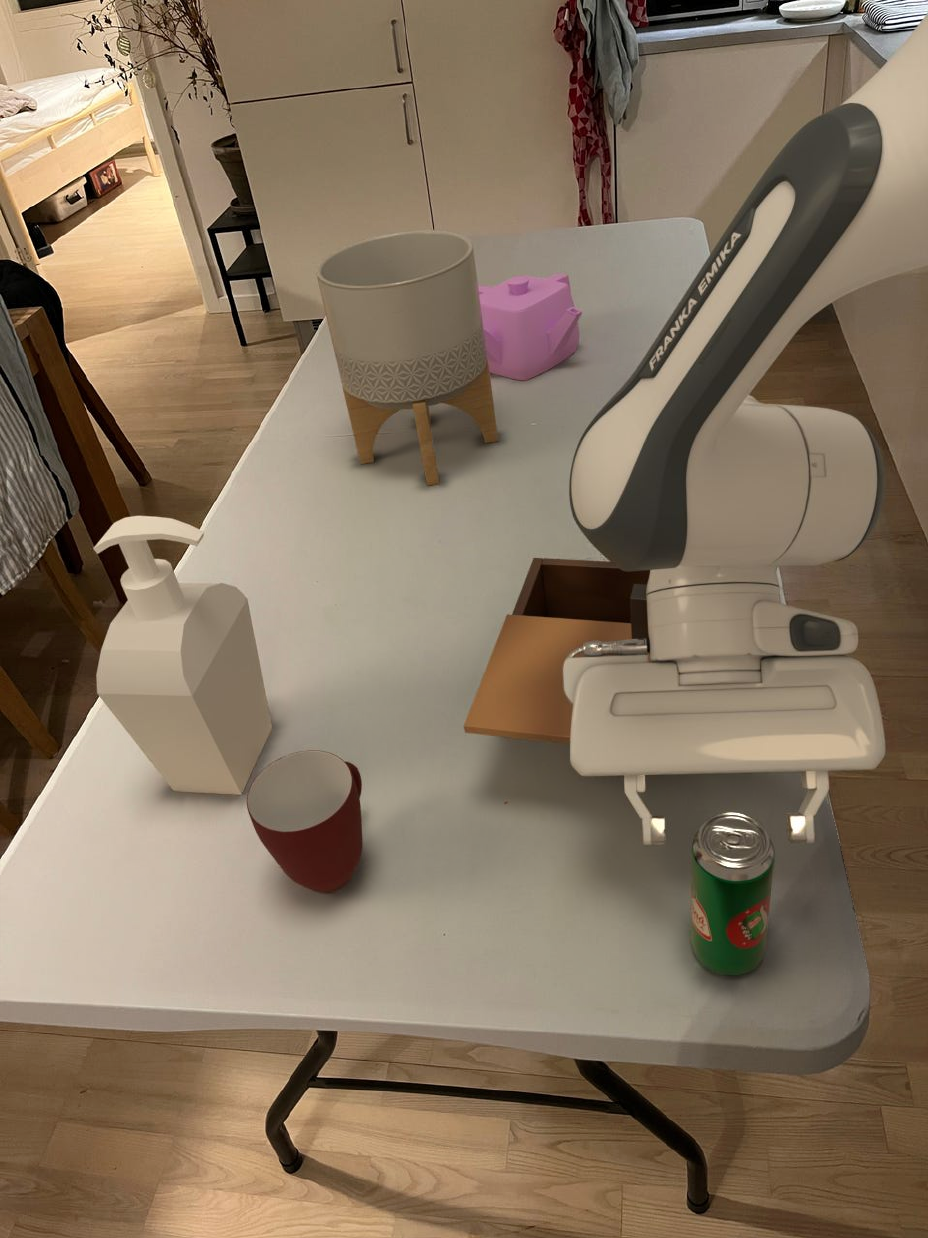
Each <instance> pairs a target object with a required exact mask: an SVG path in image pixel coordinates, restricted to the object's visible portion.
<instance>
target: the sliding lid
mask: <svg viewBox="0 0 928 1238" xmlns="http://www.w3.org/2000/svg"><path fill="white" fill-rule="evenodd" d="M646 589H647V585H642V584H634V585H633V589H632V593H631V597H630V609H631V623H619V622H605V621H591V620H577V619H563V618H549V617H535V616H521V615H512V614H506V616H505V618H504V620H503V624H502V626H501V629H500V632H499V634H498V637H497V638H496V642H495V644H494V647H493V649H492V651H491V655H490V657H489V660H488V662H487V664H486V668H485V670H484V673H483V675H482V678H481V679H480V680H481V681H480V683H479V685H478V687H477V691H476V693H475V696H474V698H473V701H472V703H471V706H470V708H469V712H468V714H467V716H466V719H465V721H464V724H463V730H464V733H465V734H466V733H467V734H476V735H484V736H491V737H492V736H493V737H501V738H508V739H509V738H510V739H520V740H527V741H528V740H529V741H538V742H544V743H545V742H547V743H556V744H564V745H570V734H571V720H572V711H573V705H572V704H571V703H570V702H569V701H568V700H567V698H566V697H565V695H564V692H563V679H562V666H563V663H564V661H565V659H566V657H567V656H568V654H569V653H570V652H572V651H573V650H575V649H577V648H580V647H583V643H584V642H588V641H602V642H606V641H608V642H609V641H612V642H613V641H617V640H624V639H638V638H648V637H649V635H648V617H647V597H646ZM647 655H648V663H652V662H650V653H648V652H647ZM603 656H619V655H603ZM603 656H602V657H603ZM621 656H622V655H621ZM579 657H587V656H584V655H583V653H580V654H578V655H576V656H575V657H574V658H579Z"/></svg>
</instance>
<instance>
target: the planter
mask: <svg viewBox="0 0 928 1238" xmlns="http://www.w3.org/2000/svg"><path fill="white" fill-rule="evenodd" d="M473 245H474V244H473V242H472V240H471V239H470V238H468V237H467V236H466V235H464V234H461V233H459V232H455V231H450V230H444V229H443V230H442V229H441V230H438V229H416V230H404V231H397V232H390V233H386V234H385V233H384V234H380V235H376V236H371V237H367V238H365V239H362V240H358V241H356V242H352V243H350V244H347V245H345V246H343V247H340V248H339V249H336V250H334V251H332V252H331V253H330V254H327V256H325V257H324V258H322V259H321V260H320V262H319V263H318V264H317V266H316V268H315V274H316V279H317V283H318V287H319V291H320V296H321V300H322V304H323V305H322V306H323V309H324V313H325V317H326V322H327V326H328V330H329V335H330V339H331V343H332V346H333V347H332V348H333V353H334V356H335V360H336V366H337V369H338V373H339V378H340V381H341V387H342V391H343V395H344V400H345V405H346V408H347V409H346V410H347V413H348V417H349V422H350V427H351V430H352V434H353V438H354V444H355V447H356V451H357V457H358V461H359V463H360V465H364V464H370V463H374V462H375V456H374V447H375V441H376V438H377V435H378V433H379V431H380V430H381V428H382V427H383V425H384V424H385V423H386V422H387V421H388V420H389V419H390V418H391V417H392V416H393V415H395V414H397V413H398V412H400V411H401V410H402V411H407V410H413V416H414V421H415V427H416V432H417V438H418V442H419V443H418V444H419V448H420V454H421V459H422V464H423V468H424V469H423V470H424V475H425V480H426V485H427V486H428V487H429V486H430V487H431V486H434V485H440V477H439V471H438V466H437V459H436V454H435V447H434V442H433V436H432V429H431V424H432V421H431V413H430V407H431V406H435V405H439V404H444V405H448V406H451V407H455V408H457V409H459V410H460V411H463V412H464V413H465V414H467V415H468V416H469V417H470V418H471V419H472V420H473V421H474V422H475V423H476V425H477V426H478V428H479V430H480V432H481V434H482V437H483V442H484V444H489V443H495V442H499V435H498V426H497V420H496V412H495V404H494V395H493V387H492V381H491V373H490V372H489V364H488V360H487V351H486V343H485V335H484V327H483V320H482V312H481V304H480V297H479V289H478V286H479V281H478V275H477V267H476V260H475V258H476V257H475V251H474V246H473Z"/></svg>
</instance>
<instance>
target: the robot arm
mask: <svg viewBox="0 0 928 1238" xmlns="http://www.w3.org/2000/svg"><path fill="white" fill-rule="evenodd" d="M924 267H928V12H927V13H926V14H925V15H924V17H923V18H922V20H921V21H920V22H919V23H918V25H917V26H916V27H915V29H913V31H912V32H911V34H910V35H909V36H908V37H907V39H906V40H905V41H904V42H903V43H902V44H901V45H900V47H899V48H898V49H897V50H896V51H895V53H894V54H893V55H892V56H891V57H890V58H889V59H888V60H887V61H886V63H885V64H884V65H883V66H882V67H881V68H880V69H878V71H877V72H876V73H874V74H873V76H871V78H870V79H868V80H867V82H866V83H865V84H864V85H862V86H861V88H859V89H858V90H856V92H855V93H853V94H852V95H851V96H850V97H848V98H847V99H846V100H845V101H843V102H842V103H841V104H840V105H838V106H837V107H834V108H832V109H830V110H828V111H826V112H824V113H822V114H820V115H818V116H816V117H814V118H813V119H811V120H810V121H808V122H807V123H806V124H805V125H803V126H802V127H801V128H800V129H799V130H798V131H797V132H796V133H795V134H794V135H793V136H792V137H791V138H790V139H789V140H788V142H787V143H786V144H785V145H784V146H783V147H782V149H781V150H780V151H779V153H778V154H777V155H776V156H775V158H774V159H773V160H772V162H771V163H770V164H769V166H768V167H767V169H766V170H765V171H764V172H763V174H762V175H761V177H760V179H759V180H758V181H757V182H756V183H755V185H754V187H753V189H752V190H751V192H750V193H749V194H748V196H747V197H746V199H745V200H744V202H743V204H742V205H741V206H740V208H739V210H738V211H737V212H736V214H735V216H734V217H733V219H732V220H731V222H730V223H729V225H728V226H727V228H726V229H725V231H724V233H723V234H722V235H721V237H720V238H719V240H718V241H717V243H716V245H715V246H714V248H713V249H712V251H711V253H710V254H709V256H708V257H707V259H706V261H705V262H704V263H703V264H702V267H701V268H700V269H699V271H698V273H697V274H696V276H695V277H694V279H693V280H692V282H691V284H690V285H689V287H688V288H687V289H686V292H685V293H684V295H683V296H682V297H681V299H680V301H679V302H678V304H677V305H676V307H675V309H674V310H673V312H672V313H671V315H670V316H669V318H668V319H667V321H666V323H665V324H664V325H663V327H662V329H661V331H659V333H658V335H657V336H656V338H655V339H654V341H653V343H652V344H651V346H650V347H649V349H648V350H647V352H646V353H645V355H644V356H643V358H642V359H641V360H640V362H639V363H638V366H637V367H636V369H635V370H634V372H633V373H632V374H631V375H630V377H629V378H628V379H627V380H626V381H625V383H624V384H623V385H622V386H621V387H620V388H619V390H618V391H616V393H615V394H614V395H613V396H612V397H611V398H610V399H609V400H608V401H607V402H606V403H605V404H604V405H603V406H602V408H601V409H600V410H599V412H597V413H596V415H595V416H594V417H593V418H592V420H591V421H590V423H589V424H588V425H587V427H586V428H585V430H584V431H583V433H582V435H581V437H580V438H579V440H578V443H577V445H576V449H575V452H574V455H573V458H572V461H571V467H570V474H569V484H568V498H569V505H570V506H569V507H570V510H571V511H570V512H571V514H572V517H573V520H574V522H575V525H576V526H577V527H578V529H579V530H580V532H581V533H582V534H583V535H584V537H585V538H586V539H587V540H588V542H589V543H590V544H591V545H592V546H593V547H594V548H595V549H596V550H597V551H598V553H600V554H601V555H602V556H603V557H605V558H606V560H608V562H612V563H613V564H614V565H616V566H617V567H618V568H620V569H621V570H623V571H627V572H630V571H643V570H650V575H649V580H648V584H647V589H646V597H647V617H648V635H649V637H648V638H638V639H624V640H617V641H613V642H612V641H609V642H608V641H606V642H602V641H588V642H584V643H583V647H580V648H577V649H575V650H573V651H572V652H570V653H569V654H568V656H567V657H566V659H565V661H564V663H563V666H562V679H563V692H564V695H565V697H566V698H567V700H568V701H569V702H570V703H571V704H572V705H573V711H572V720H571V734H570V744H569V762H570V765H571V767H572V768H573V769H574V770H575V772H577V773H578V775H580V776H582V777H610V776H612V777H614V776H616V777H617V776H623V786H624V787H623V788H624V794H625V795H626V798H627V799H628V801H629V802H630V803H631V805H632V807H633V809H634V810H635V812H636V813H637V815H638V817H639V818H640V819H641V825H642V826H641V827H642V841H643V842H642V843H643V845H644V846H655V845H656V846H657V845H667V839H666V837H667V836H666V833H665V831H664V830H665V829H666V820H665V819H666V818H665V816H664V815H652V813H651V812H650V810H649V809H648V807H647V805H646V804H645V802H644V801H643V798H641V795H640V794H639V793H645V791H646V776H651V775H654V776H656V775H661V776H662V775H698V774H699V775H701V774H704V775H705V774H741V773H742V774H743V773H784V772H785V773H789V772H790V773H793V772H799V774H800V775H799V777H800V785H801V786H802V787H803V788H806V789H808V791H807V793H806V795H805V797H804V799H803V801H802V803H801V804H800V807H799V809H798V811H797V812H793V813H792V812H791V813H790V812H789V813H785V825H786V826H788V827H787V829H786V838H787V841H788V842H789V843H791V844H814V843H815V839H816V837H815V836H816V835H815V821H814V816H816V815H817V813H818V811H819V809H820V807H821V805H822V804H823V802H824V800H825V798H826V796H827V794H828V792H829V790H830V781H829V780H830V779H829V777H830V776H829V772H833V771H871V770H875V769H877V767H878V766H879V765H880V763H881V762H882V760H883V759H884V757H885V756H886V739H885V730H884V724H883V717H882V711H881V706H880V702H879V698H878V693H877V690H876V689H877V688H876V685H875V682H874V680H873V677H872V675H871V674H870V672H869V670H868V669H867V667H866V666H865V665H864V664H863V663H862V662H861V661H859V660H858V659H855V658H853V657H852V656H848V655H850V654H852V653H854V652H855V651H856V649H857V648H858V645H859V632H858V628H857V626H856V624H855V623H853V622H852V621H851V620H849V619H846V618H845V619H844V618H841V617H838V616H833V615H829V614H825V613H821V612H816V611H812V610H809V609H805V608H801V607H796V606H792V605H790V604H789V605H788V604H785V603H782V601H781V599H782V598H781V586H780V584H779V580H778V574H777V573H778V572H777V570H778V568H779V567H783V568H784V567H785V568H787V567H789V568H790V567H795V568H796V567H799V568H801V567H816V566H820V565H824V564H825V565H826V564H830V563H832V562H837V561H842V560H844V559H846V558H848V557H850V556H851V555H853V553H855V552H856V551H857V550H859V548H860V547H861V546H862V545H863V544H864V543H866V540H867V539H868V538H869V537H870V536H871V534H872V532H873V531H874V529H875V527H876V525H877V524H878V522H879V519H880V516H881V513H882V509H883V505H884V501H885V492H886V473H885V465H884V460H883V456H882V453H881V449H880V447H879V444H878V442H877V440H876V438H875V437H874V435H873V433H872V432H871V430H870V429H869V428H868V427H867V425H866V424H865V423H864V422H863V421H862V420H861V419H860V418H859V417H857V416H856V415H854V414H852V413H849V412H843V411H840V410H836V409H833V408H828V407H827V408H826V407H818V406H809V405H798V404H797V405H795V404H780V403H779V404H778V403H763V402H759V401H758V399H756V398H755V397H754V396H753V395H751V393H752V391H753V390H754V388H755V387H756V386H757V385H758V383H759V382H760V381H761V379H762V378H763V377H764V375H765V374H766V373H767V372H768V370H769V369H770V367H771V366H772V365H773V363H774V362H775V361H776V360H777V358H778V357H779V356H780V354H781V353H782V352H783V350H784V349H785V348H786V346H787V345H788V344H789V342H791V340H792V339H793V337H794V336H795V335H796V334H797V333H798V332H799V330H800V329H801V328H802V327H803V326H804V325H805V324H806V323H807V322H808V321H810V320H811V318H813V317H814V316H815V315H816V314H818V313H819V312H820V311H822V310H823V309H824V308H826V307H827V306H829V305H831V304H832V303H834V302H835V301H837V300H839V299H841V298H842V297H844V296H847V295H848V294H850V293H853V292H855V291H857V290H859V289H861V288H864V287H867V286H869V285H871V284H874V283H877V282H880V281H882V280H885V279H888V278H891V277H894V276H897V275H900V274H903V273H906V272H909V271H913V270H917V269H922V268H924ZM647 652H648V653H650V662H652V663H648V655H647ZM580 653H583V655H584V656H587V657H579V658H574V657H575V656H576V655H578V654H580ZM603 655H619V656H603ZM621 655H622V656H621ZM602 656H603V657H602Z"/></svg>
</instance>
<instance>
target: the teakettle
mask: <svg viewBox="0 0 928 1238" xmlns="http://www.w3.org/2000/svg"><path fill="white" fill-rule="evenodd" d="M478 289H479V297H480V304H481V312H482V320H483V327H484V335H485V343H486V351H487V360H488V364H489V372H490V374H493V375H497V376H501V377H504V378H507V379H508V378H509V379H512V380H517V381H522V382H523V381H527V380H530V379H533V378H535V377H537V376H539V375H541V374H543V373H545V372H547V371H549V370H551V369H552V368H554V367H556V366H558V365H559V364H560V363H562V362H564V361H565V360H566V359H568V358H569V357H571V356H572V354H574V353H575V352H576V351H577V350H578V345H579V339H580V329H579V320H580V318H581V317H582V314H583V310H581V309H579V308H576V307H575V303H574V300H573V297H572V290H571V283H570V276H569V274H564V273H559V272H557V273H554V274H552V275H550V276H548V277H546V278H541V277H537V276H531V275H523V274H522V275H518V276H517V275H516V276H513V277H511V278H509V279H507V280H505V281H503V282H501V283H499V284H497V285H495V286H489V285H488V286H487V285H482V284H478Z"/></svg>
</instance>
